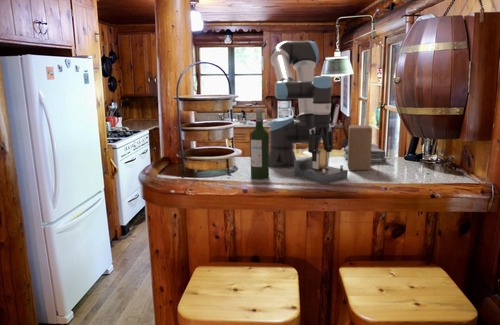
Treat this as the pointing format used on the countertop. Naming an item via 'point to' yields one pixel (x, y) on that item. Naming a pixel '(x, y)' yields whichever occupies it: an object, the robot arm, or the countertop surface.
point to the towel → (372, 154)
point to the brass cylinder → (321, 159)
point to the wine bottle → (259, 149)
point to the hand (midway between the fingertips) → (320, 167)
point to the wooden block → (359, 147)
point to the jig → (318, 172)
